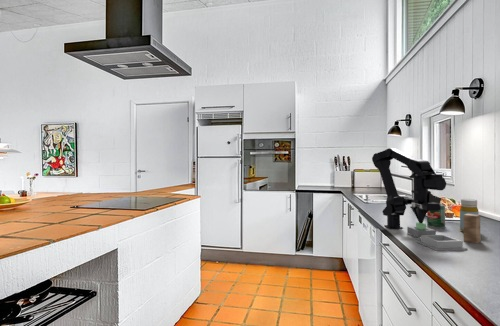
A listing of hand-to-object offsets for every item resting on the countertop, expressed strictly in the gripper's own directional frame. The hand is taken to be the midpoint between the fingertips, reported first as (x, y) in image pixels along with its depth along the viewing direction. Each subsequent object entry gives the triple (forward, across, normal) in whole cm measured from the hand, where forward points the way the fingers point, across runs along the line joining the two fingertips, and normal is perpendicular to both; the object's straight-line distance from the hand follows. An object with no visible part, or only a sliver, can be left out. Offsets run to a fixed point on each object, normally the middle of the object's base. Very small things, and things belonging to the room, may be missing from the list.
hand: (420, 223), depth 136 cm
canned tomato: (+6, +17, -19) cm, 26 cm away
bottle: (+6, +4, -26) cm, 27 cm away
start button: (+5, 0, 0) cm, 5 cm away
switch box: (+5, 0, 0) cm, 5 cm away
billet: (+5, -12, -14) cm, 19 cm away
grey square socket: (+5, -17, +3) cm, 18 cm away
